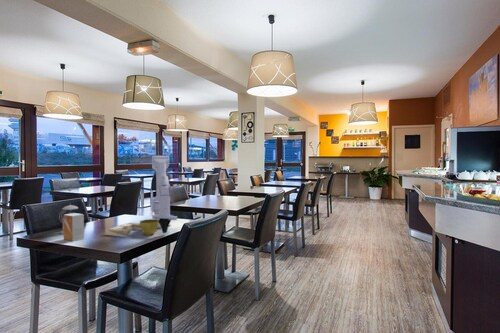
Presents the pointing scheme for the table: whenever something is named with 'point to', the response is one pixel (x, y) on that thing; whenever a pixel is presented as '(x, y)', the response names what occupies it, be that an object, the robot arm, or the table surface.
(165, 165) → the robot arm
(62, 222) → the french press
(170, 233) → the table surface
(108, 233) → the beige crumpled cloth
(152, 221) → the flower pot
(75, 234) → the small box
